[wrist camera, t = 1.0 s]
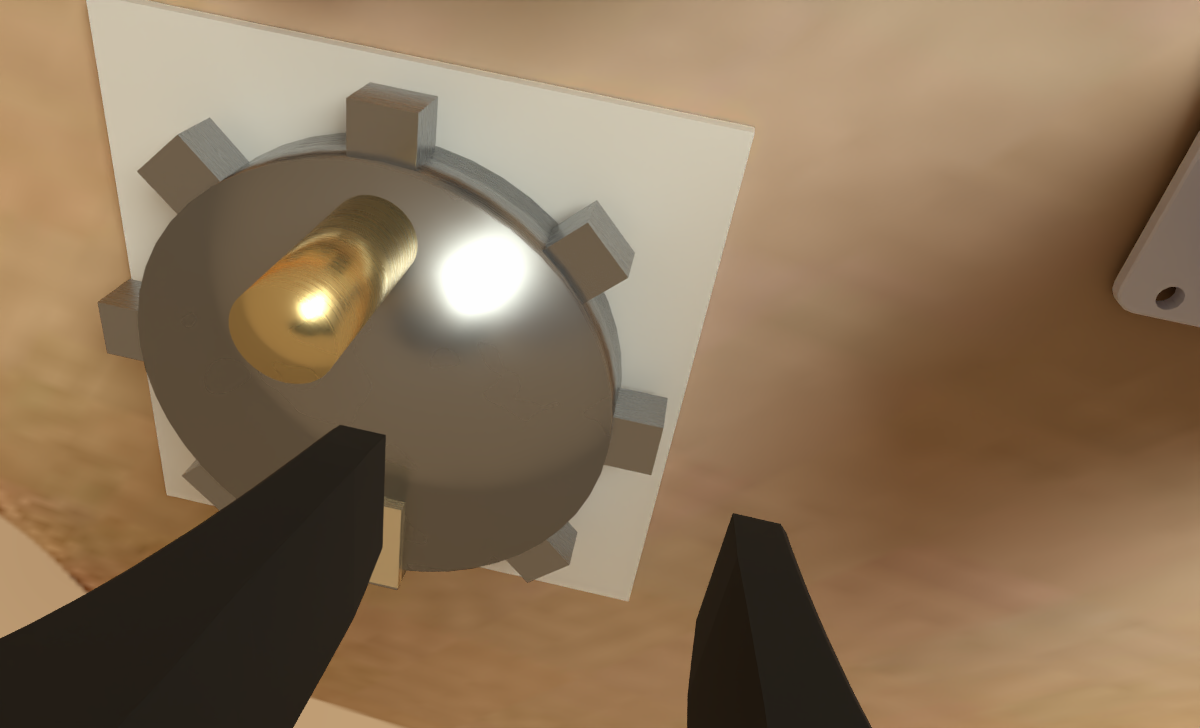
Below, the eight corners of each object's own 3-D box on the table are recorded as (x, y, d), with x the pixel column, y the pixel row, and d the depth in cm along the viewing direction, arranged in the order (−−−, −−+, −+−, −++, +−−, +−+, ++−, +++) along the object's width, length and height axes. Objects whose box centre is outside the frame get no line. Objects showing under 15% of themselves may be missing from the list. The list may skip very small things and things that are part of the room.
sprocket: (729, 153, 17) (722, 282, 12) (616, 597, 24) (582, 790, 19) (97, 20, 17) (-157, 93, 12) (172, 494, 24) (29, 658, 20)
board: (754, 127, 17) (754, 133, 17) (630, 591, 25) (628, 601, 24) (97, -10, 18) (85, -7, 17) (174, 486, 25) (166, 495, 25)
